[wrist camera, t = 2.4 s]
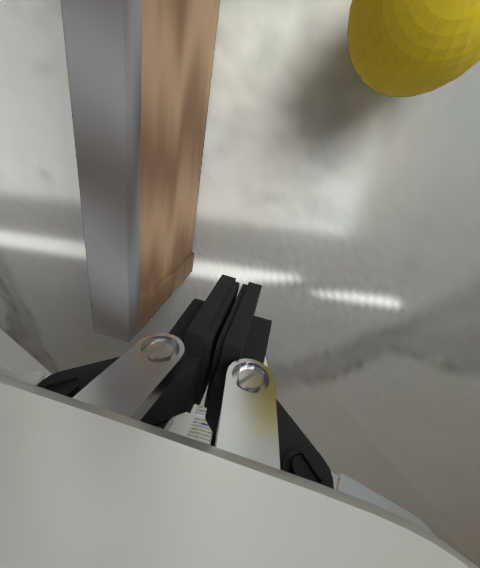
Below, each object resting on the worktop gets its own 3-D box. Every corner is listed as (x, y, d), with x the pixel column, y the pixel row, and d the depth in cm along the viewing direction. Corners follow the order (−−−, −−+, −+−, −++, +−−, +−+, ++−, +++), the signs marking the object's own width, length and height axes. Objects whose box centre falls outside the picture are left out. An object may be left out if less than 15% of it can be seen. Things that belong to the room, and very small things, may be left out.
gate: (195, -124, 12) (-23, -635, 4) (237, -118, 12) (96, -640, 4) (168, 264, 22) (89, 337, 14) (192, 270, 22) (124, 348, 14)
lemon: (432, -77, 12) (609, -381, 5) (481, 47, 13) (672, -52, 6) (318, 34, 14) (329, -65, 7) (369, 129, 16) (419, 121, 9)
